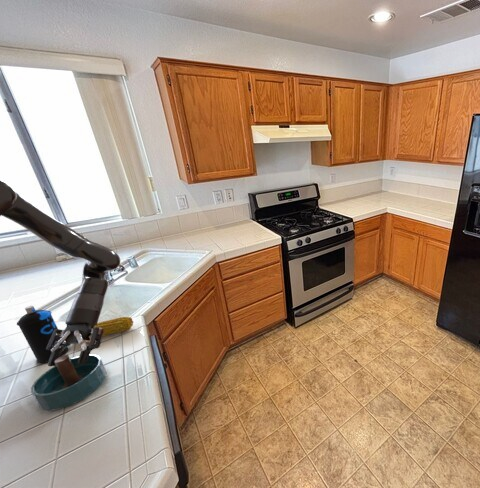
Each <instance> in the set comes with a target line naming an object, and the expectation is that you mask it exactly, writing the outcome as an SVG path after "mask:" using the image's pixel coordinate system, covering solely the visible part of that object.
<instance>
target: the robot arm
mask: <svg viewBox="0 0 480 488" xmlns="http://www.w3.org/2000/svg"><path fill="white" fill-rule="evenodd" d="M0 217H4V218H6V219H8V220H10V221H12V222H14V223H16V224H18V225H19V226H21V227H22V228H24V229H26V230H28V231H29V232H30V233H32V234H33V235H34V236H36V237H37V238H39V239H40V240H42V241H43V242H45V243H47V244H48V245H50V246H51V247H53V248H55V249H56V250H59V251H60V252H62V253H63V254H65V255H67V256H69V257H71V258H74V259H83V260H85V261H84V264H83V267H82V268H83V269H82V275H81V278H82V279H81V283H80V285H79V288H78V291H77V294H76V296H75V297H74V299H73V301H72V303H71V306H70V309H69V311H68V314H67V317H66V320H65V322H64V323H65V324H66V327H65V328H64V329H61V328H58V329H55V330H54V332H53V334H52V336H51V338H50V340H49V343H48V345H47V347H46V350H50V351H51V352H52V353H51V356H50V359H49V361H48V362H47V365H48V367H54V366H56V364H55V360H56V359H57V358H59V357H61V354H62V353H61V352H62V351H63V350H64V349H65V348H66V347H69V346H71V345H73V344H78V345H80V347H81V351H80V353H79V355H78V356H79V358H78V361H77V365H85V364H86V362H87V361H88V358H89V355H90V354H91V352H92V351H93V350H96V349H99V348H100V346H101V342H102V338H103V336H102V335H103V331H104V329H103V328H99V327H95V328H94V326H95V325H97V323H99V318H100V315H101V312H102V310H103V307H104V303H105V299H106V295H107V292H108V289H109V286H110V285H109V281H108V280H107V279H106V274H107V272H110V271H114V270H116V269H117V268H119V267H120V265H121V258H120V256H119V255H118V253H117V252H116V251H114V250H113V249H111V248H109V247H106V246H104V245H102V244H99V243H97V242H95V241H92V240H90V239H88V238H87V237H85V236H84V235H82V234H81V233H79V232H77V231H76V230H74V229H72V227H70V226H67V225H66V224H64V223H62V222H60V221H59V220H57V219H55V218H54V217H52V216H50V215H49V214H47V213H45V212H44V211H42V210H41V209H39V208H38V207H37V206H35V205H34V204H32V203H31V202H29V201H28V200H27V199H26V198H24V196H23V195H21V194H20V193H19V192H18V191H17V190H15V188H14V187H13V186H12V184H10V183H9V182H7V181H5V180H4V179H2V178H0ZM91 334H92V337H90V335H91ZM54 342H55V344H54V346H53V343H54ZM60 346H61V347H60ZM59 347H60V348H59Z"/></svg>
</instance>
